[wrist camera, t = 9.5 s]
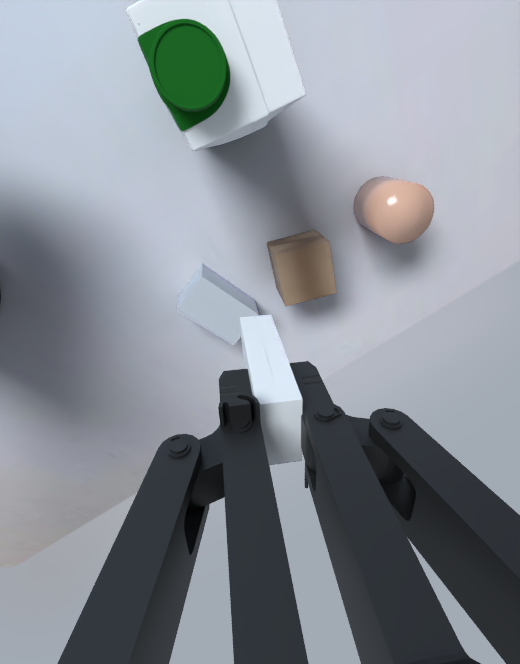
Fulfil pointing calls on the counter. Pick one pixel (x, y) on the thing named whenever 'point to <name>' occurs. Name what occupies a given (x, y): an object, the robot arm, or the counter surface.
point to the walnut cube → (302, 267)
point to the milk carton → (218, 64)
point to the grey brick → (215, 304)
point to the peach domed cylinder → (394, 208)
